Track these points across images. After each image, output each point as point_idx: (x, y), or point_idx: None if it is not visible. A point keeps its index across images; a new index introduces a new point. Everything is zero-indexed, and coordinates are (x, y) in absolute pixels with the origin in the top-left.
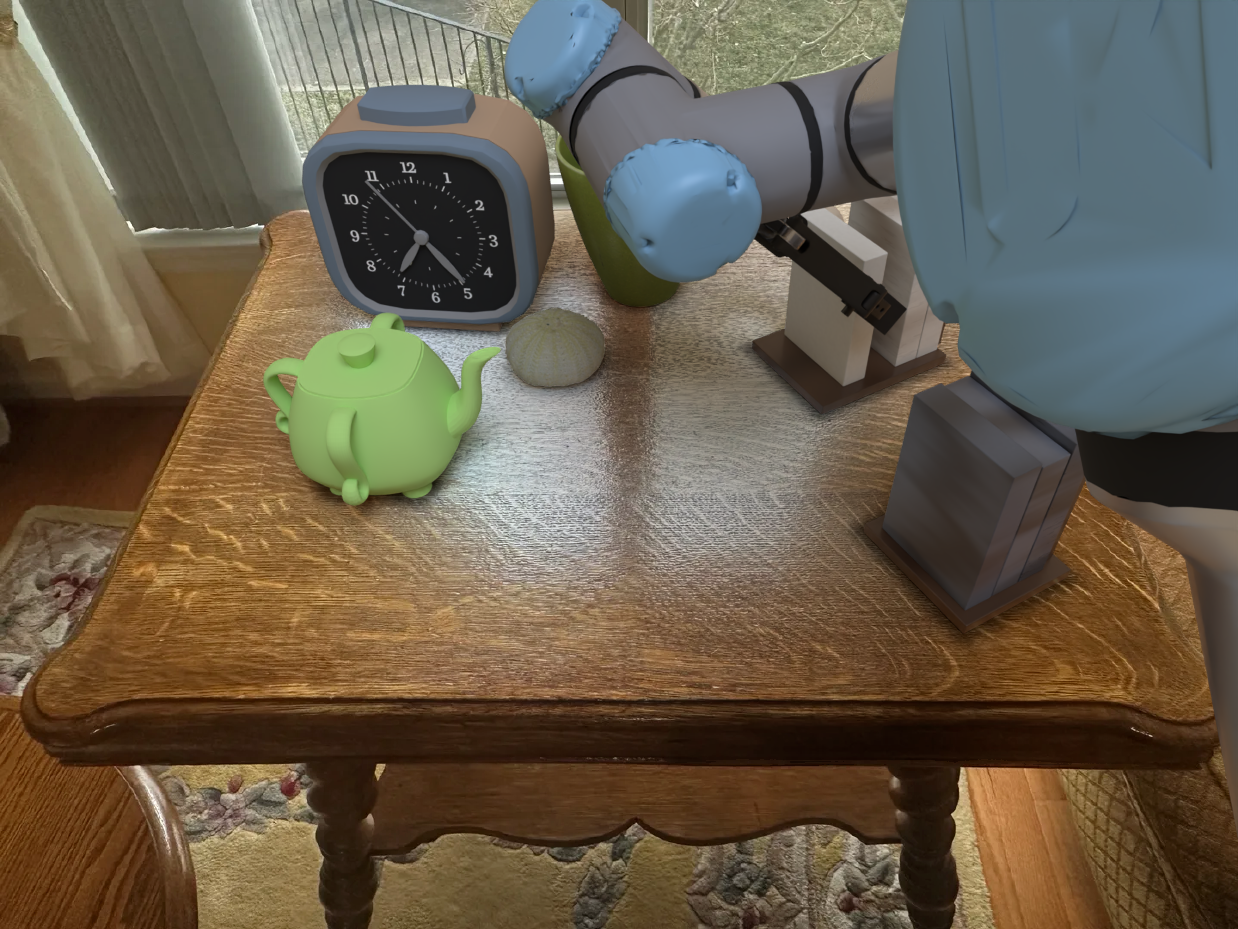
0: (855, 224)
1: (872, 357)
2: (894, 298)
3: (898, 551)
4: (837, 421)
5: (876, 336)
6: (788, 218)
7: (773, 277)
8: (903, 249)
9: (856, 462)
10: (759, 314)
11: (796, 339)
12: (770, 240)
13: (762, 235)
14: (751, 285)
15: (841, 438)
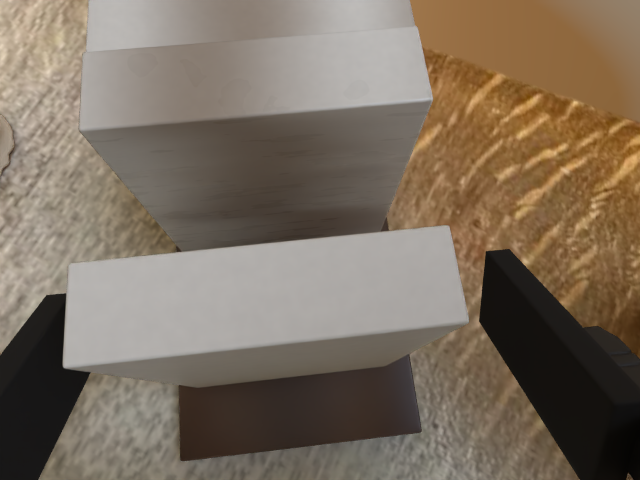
0: (152, 174)
1: None
2: (545, 288)
3: None
4: (442, 412)
5: None
6: (26, 361)
7: (9, 295)
8: (357, 143)
9: (548, 440)
10: (97, 384)
11: (235, 382)
12: (55, 433)
13: (35, 474)
14: None
15: (485, 431)
